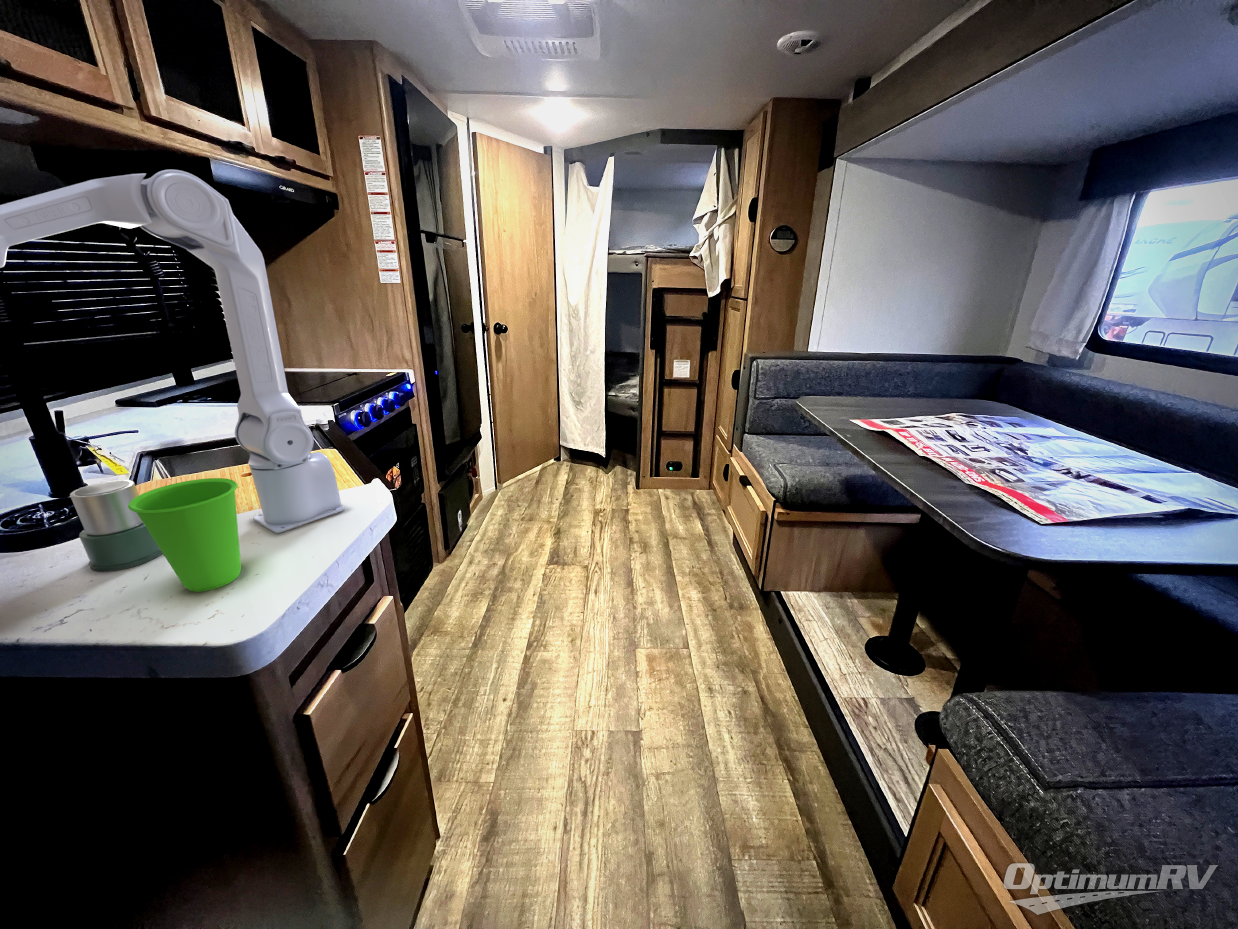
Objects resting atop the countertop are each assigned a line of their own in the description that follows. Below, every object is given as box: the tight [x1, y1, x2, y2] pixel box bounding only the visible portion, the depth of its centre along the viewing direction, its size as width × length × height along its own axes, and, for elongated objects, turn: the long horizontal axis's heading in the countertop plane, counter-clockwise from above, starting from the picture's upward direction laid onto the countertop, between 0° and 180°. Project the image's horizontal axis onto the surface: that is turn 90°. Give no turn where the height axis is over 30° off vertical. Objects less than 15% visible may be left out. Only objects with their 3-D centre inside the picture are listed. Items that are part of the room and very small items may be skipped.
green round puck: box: [78, 523, 163, 573], centre depth 59 cm, size 7×7×4 cm
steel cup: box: [69, 479, 143, 536], centre depth 58 cm, size 5×5×5 cm
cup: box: [128, 477, 242, 593], centre depth 54 cm, size 9×9×11 cm
